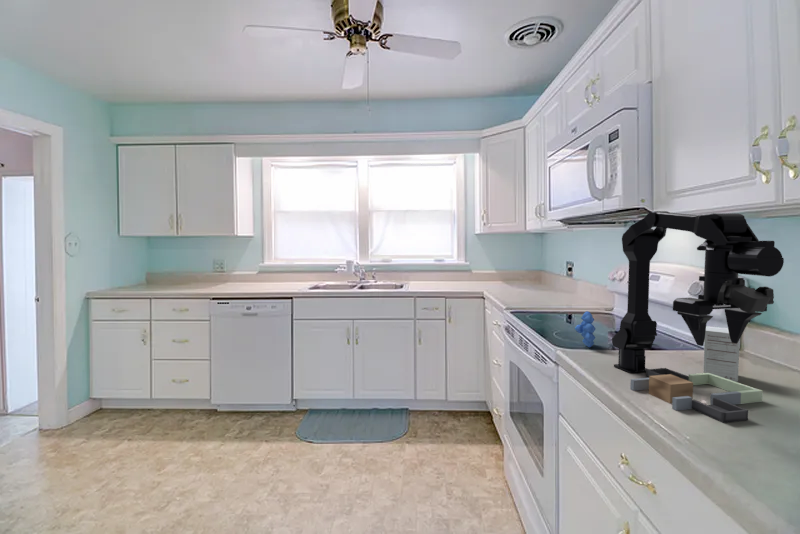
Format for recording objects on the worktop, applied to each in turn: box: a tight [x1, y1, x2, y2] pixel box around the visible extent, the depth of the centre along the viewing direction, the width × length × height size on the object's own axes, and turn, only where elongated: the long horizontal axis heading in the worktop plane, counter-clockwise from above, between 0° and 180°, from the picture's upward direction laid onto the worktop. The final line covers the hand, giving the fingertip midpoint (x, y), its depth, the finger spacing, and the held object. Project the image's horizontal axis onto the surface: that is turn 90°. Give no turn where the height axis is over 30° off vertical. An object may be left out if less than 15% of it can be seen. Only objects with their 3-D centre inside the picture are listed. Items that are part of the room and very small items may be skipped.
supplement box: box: [702, 325, 740, 383], centre depth 109 cm, size 7×7×13 cm
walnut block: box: [648, 374, 694, 405], centre depth 94 cm, size 6×6×4 cm
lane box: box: [629, 367, 764, 424], centre depth 95 cm, size 27×23×2 cm
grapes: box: [574, 310, 596, 348], centre depth 141 cm, size 12×7×12 cm, turn 165°
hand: (717, 344), depth 87 cm, fingers open, 9 cm apart
